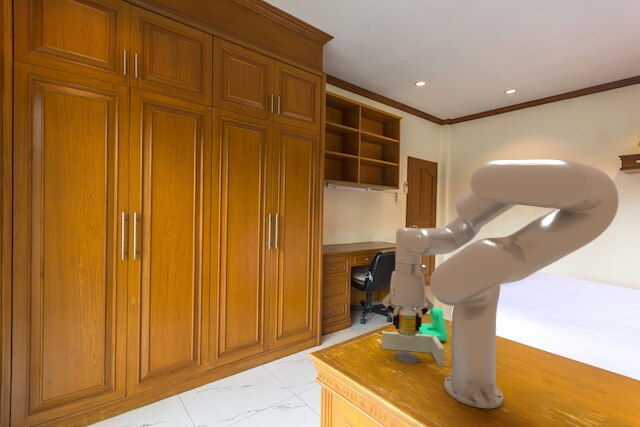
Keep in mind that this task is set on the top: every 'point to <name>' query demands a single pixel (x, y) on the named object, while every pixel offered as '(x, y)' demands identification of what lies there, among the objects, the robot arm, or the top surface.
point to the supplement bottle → (407, 322)
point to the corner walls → (415, 344)
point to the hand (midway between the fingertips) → (406, 327)
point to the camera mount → (435, 325)
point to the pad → (407, 357)
